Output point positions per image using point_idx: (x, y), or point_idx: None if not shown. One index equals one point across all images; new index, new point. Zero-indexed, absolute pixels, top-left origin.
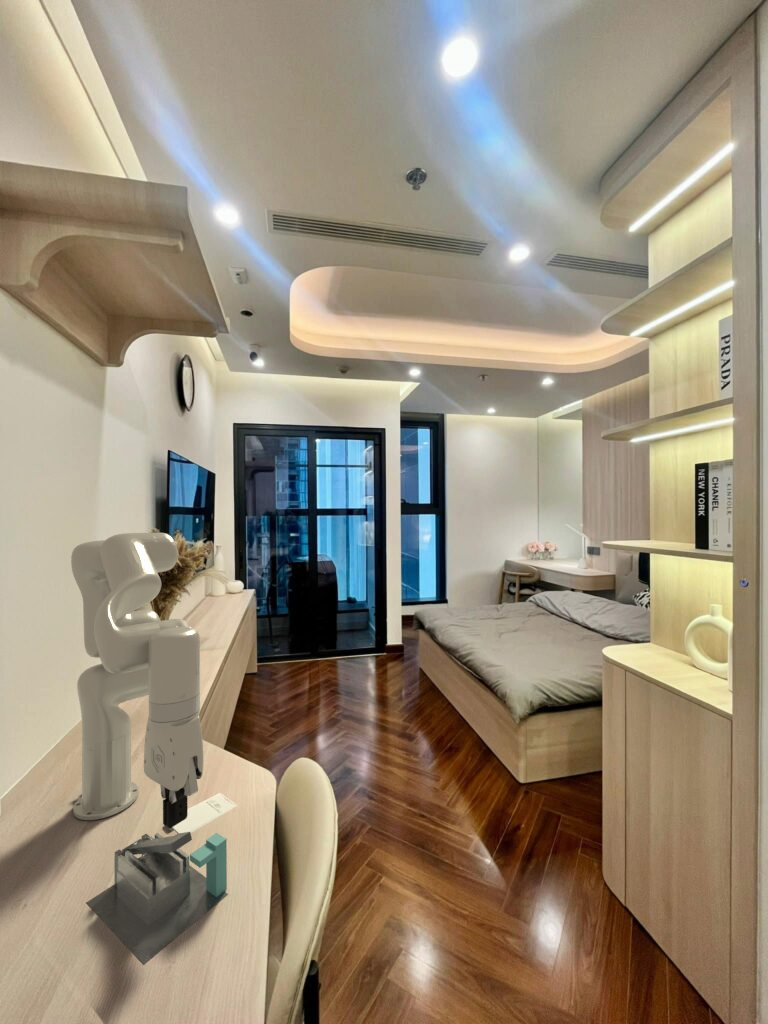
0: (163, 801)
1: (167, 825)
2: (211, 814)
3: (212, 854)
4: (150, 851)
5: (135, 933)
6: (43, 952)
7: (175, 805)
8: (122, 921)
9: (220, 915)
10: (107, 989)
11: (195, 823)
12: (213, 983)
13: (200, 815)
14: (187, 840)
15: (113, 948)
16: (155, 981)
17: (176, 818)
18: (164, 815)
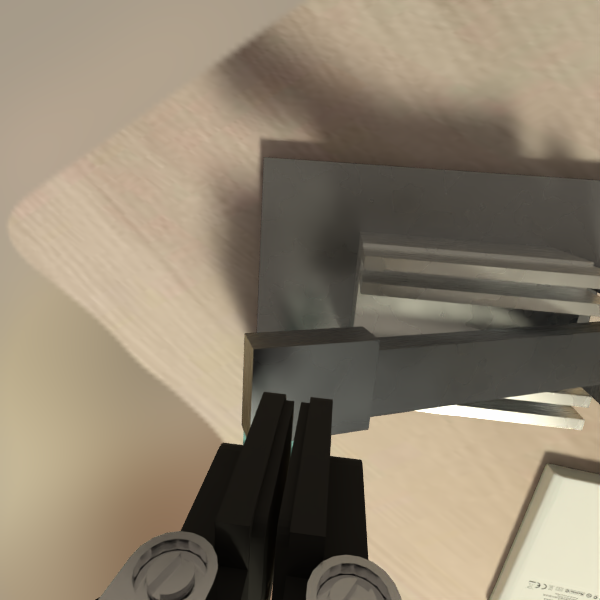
0: (316, 526)
1: (275, 398)
2: (548, 568)
3: (244, 433)
4: (462, 333)
5: (370, 199)
6: (592, 30)
7: (185, 531)
8: (444, 203)
9: (238, 346)
10: (305, 81)
11: (566, 527)
12: (107, 225)
13: (581, 555)
14: (244, 410)
15: (402, 153)
16: (220, 159)
17: (218, 454)
18: (309, 436)
